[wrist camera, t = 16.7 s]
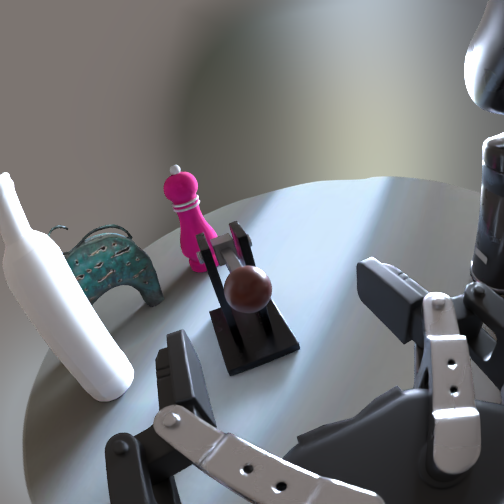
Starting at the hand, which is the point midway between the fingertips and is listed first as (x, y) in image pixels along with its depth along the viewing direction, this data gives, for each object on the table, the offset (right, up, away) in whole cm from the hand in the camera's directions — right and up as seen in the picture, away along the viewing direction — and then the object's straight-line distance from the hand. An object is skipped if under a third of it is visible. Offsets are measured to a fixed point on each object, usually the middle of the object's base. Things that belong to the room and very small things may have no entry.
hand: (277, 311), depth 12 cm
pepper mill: (-10, 0, +45) cm, 46 cm away
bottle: (-21, -16, +23) cm, 35 cm away
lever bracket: (-1, -8, +26) cm, 28 cm away
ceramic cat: (-24, -10, +34) cm, 43 cm away
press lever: (-2, 0, +16) cm, 16 cm away
